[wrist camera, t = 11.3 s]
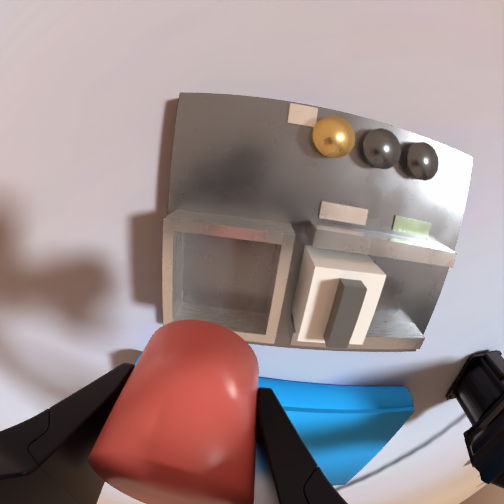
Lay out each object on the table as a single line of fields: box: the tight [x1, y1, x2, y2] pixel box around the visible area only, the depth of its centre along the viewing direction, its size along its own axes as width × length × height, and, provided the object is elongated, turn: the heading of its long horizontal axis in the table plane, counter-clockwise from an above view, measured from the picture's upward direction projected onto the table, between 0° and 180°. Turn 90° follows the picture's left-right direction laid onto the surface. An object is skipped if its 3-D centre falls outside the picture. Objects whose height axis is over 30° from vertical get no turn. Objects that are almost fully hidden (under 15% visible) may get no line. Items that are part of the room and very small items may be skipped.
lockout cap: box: [88, 320, 259, 504], centre depth 7 cm, size 4×4×5 cm
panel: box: [162, 93, 473, 352], centre depth 16 cm, size 16×20×4 cm
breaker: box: [292, 245, 386, 348], centre depth 15 cm, size 4×4×4 cm
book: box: [135, 353, 414, 486], centre depth 23 cm, size 17×4×25 cm
